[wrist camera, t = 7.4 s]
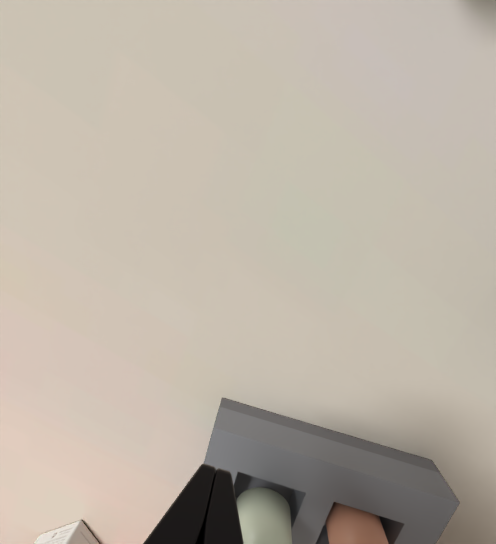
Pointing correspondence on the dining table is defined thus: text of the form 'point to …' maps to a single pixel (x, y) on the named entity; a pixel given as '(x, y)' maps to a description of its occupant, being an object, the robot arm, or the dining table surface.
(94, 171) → the dining table surface
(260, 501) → the sage button
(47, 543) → the small box
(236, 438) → the button board
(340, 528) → the terracotta button
